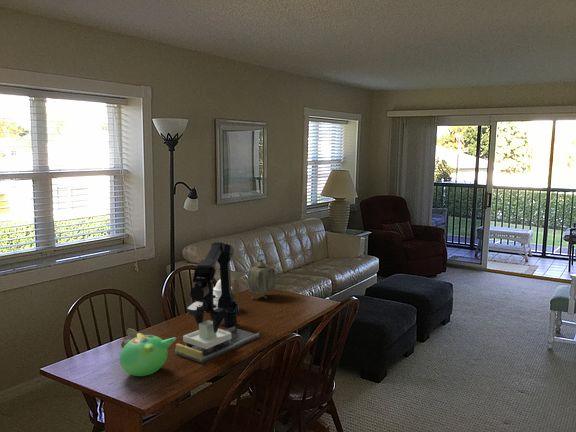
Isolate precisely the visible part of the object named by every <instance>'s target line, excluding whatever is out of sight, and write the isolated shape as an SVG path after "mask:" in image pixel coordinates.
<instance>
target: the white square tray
mask: <svg viewBox="0 0 576 432" xmlns="http://www.w3.org/2000/svg"><path fill="white" fill-rule="evenodd" d="M216 335H217V337H214V338H212V339H209V340H205V339H202V338H199V329H198V330H196V331H193V332H190V333H187V334H184V335H183V336H182V341H183V342H184V343H185V345H186V346H187V347H192V346H193V345H195V346H198V347H201V348H204V349H206V353H207V354H211V353H212V352H213V348H212V347H213V346H215V345H218V344H220V343H222V346H223V347H227V346H228V345H229V343H230V339H232V335H231V333H230V332H229V331H226V329H222V328H220V327H219V328H218V330H217V332H216Z"/></svg>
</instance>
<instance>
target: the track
mask: <svg viewBox="0 0 576 432" xmlns="http://www.w3.org/2000/svg"><path fill="white" fill-rule="evenodd" d="M225 330H226V331H229V332H230V333H231V335H232V339H230V343H229V345H228V346H227V347H223V346H222V343H220V344H218V345H215V346H213V347H212V348H213V352H212V353H211V354H207V353H206V349H204V348H201V347H198V346H195V345H193V346H192V347H187V346H186V344H185V345H184V344H181V343H176V344H175V349H174V354H175V355H178V356H180V357H184V358H186V359H189V360H191V361H195V362H197V363H198V364H199V363H200V364H202V363H206V362H208V361H209V360H212V359H214V358H216V357H218V356H221V355H224V354H225V353H227V352H228V353H229V352H231V351H232V350H234V349H237V348H239V347H241V346H243V345H245V344H248V343H249V342H250V343H251V342H252V341H255V340H257V339H259V338H261V335H260V332H257V333H253V332H251V331H248V330H243V329H241V328H240V329H239V328H236V326H233V327H231V328H225Z"/></svg>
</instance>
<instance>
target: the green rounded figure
mask: <svg viewBox="0 0 576 432" xmlns="http://www.w3.org/2000/svg"><path fill="white" fill-rule="evenodd" d="M129 340H130V341H129V342H128V343H127V344H126V345H125V346H124V348H123V347H122V350H121V352H120V354H119V362H120V366H121V368H122V369H123V371H125V372H126V373H127V374H129V375H130V376H134V377H145V376H150V375H151V374H154V373H156V372H157V371H159V369H161V368H162V367H163V365H164V364H165V363H166V361H167V358H168V354H169V353H168V352H169V349H168V348H169V347H170V346H171V345H172V344H174V343H175V342H176V341H177V337H176V336H175V337H170V338H167V339H162V338H161V337H159V336H156V335H153V334H143V333H141V332H138V334H137V337H135V338H133V339H129Z"/></svg>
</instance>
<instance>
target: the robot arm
mask: <svg viewBox="0 0 576 432" xmlns="http://www.w3.org/2000/svg"><path fill="white" fill-rule="evenodd" d="M233 256H234V247H233V246H232V245H231V244H227V243H225V242H223V241H214V242H212V243H211V247H210V249H209V251H208V252H207V254H206V256H205V257H204V259H203V260H199V262H198V263H197V264H196V266H195V268H194V273H193V276H192V283H194V286H193V287H192V288H191V289H190V291H189V295H190V297H191V299H192V300H194V301H195V302H192V303H189V304H188V305H187V307H186V312H188V313H189V315H190V316H193V317H194V319H195V322H196V324H197V327H198V328H199V323H202V322H204V321H203V320H204V313H207V314H209V315H210V321H212V322H213V329H214V333H216V332H217V330H218V328H219V329H220V326H221V327H223V328H226V329H228V328H231V327H233V326H235V327H236V326H239V323H238V322H237V321H238V319H237V314H240V306H239V304H238V302H237V300H236V296H235V293H233V292H232V291H233V289H232V290H231V287H232V277H231V264H230V263H231V261H232V259H233ZM217 263H218V265H219V275H220V277H219V279H221V292H222V294H221V296H220V298H219V300H218V309H215V310H214V308H216V305H214V300H213V299H214V298H216V296H215V295H213V291H214V290H213V288H214V282H213V281H214V280H215V276H216V272H217V270H216V264H217Z"/></svg>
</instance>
